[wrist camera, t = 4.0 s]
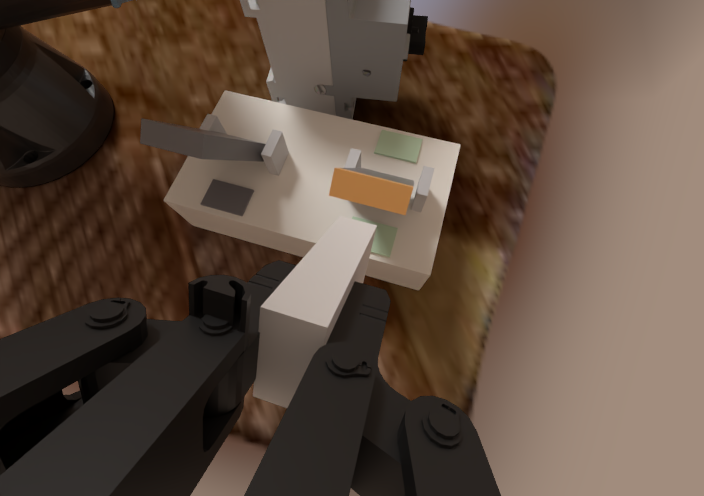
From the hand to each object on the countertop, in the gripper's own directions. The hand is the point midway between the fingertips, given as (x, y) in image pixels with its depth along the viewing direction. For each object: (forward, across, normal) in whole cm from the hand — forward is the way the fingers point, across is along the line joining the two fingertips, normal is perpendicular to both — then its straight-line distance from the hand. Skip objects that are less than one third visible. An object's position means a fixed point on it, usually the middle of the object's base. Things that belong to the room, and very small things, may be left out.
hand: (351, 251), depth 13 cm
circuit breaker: (+27, -8, +5) cm, 29 cm away
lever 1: (+14, -12, 0) cm, 18 cm away
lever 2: (+14, 0, 0) cm, 14 cm away
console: (+18, -6, -4) cm, 19 cm away
